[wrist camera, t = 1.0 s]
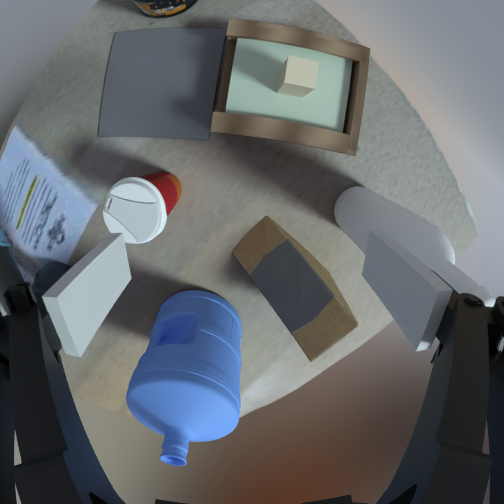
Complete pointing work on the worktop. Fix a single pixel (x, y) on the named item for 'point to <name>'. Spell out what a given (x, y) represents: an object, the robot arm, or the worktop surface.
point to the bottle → (403, 235)
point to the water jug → (189, 373)
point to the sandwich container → (296, 287)
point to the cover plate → (285, 107)
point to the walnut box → (286, 129)
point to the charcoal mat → (162, 83)
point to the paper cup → (141, 205)
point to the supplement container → (164, 7)
